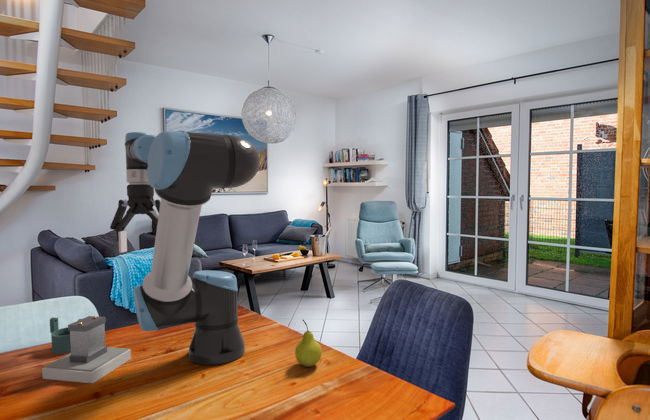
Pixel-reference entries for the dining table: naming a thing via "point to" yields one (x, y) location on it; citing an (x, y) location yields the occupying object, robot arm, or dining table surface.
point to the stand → (86, 366)
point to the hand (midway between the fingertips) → (142, 252)
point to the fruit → (308, 350)
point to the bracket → (59, 338)
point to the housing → (87, 339)
